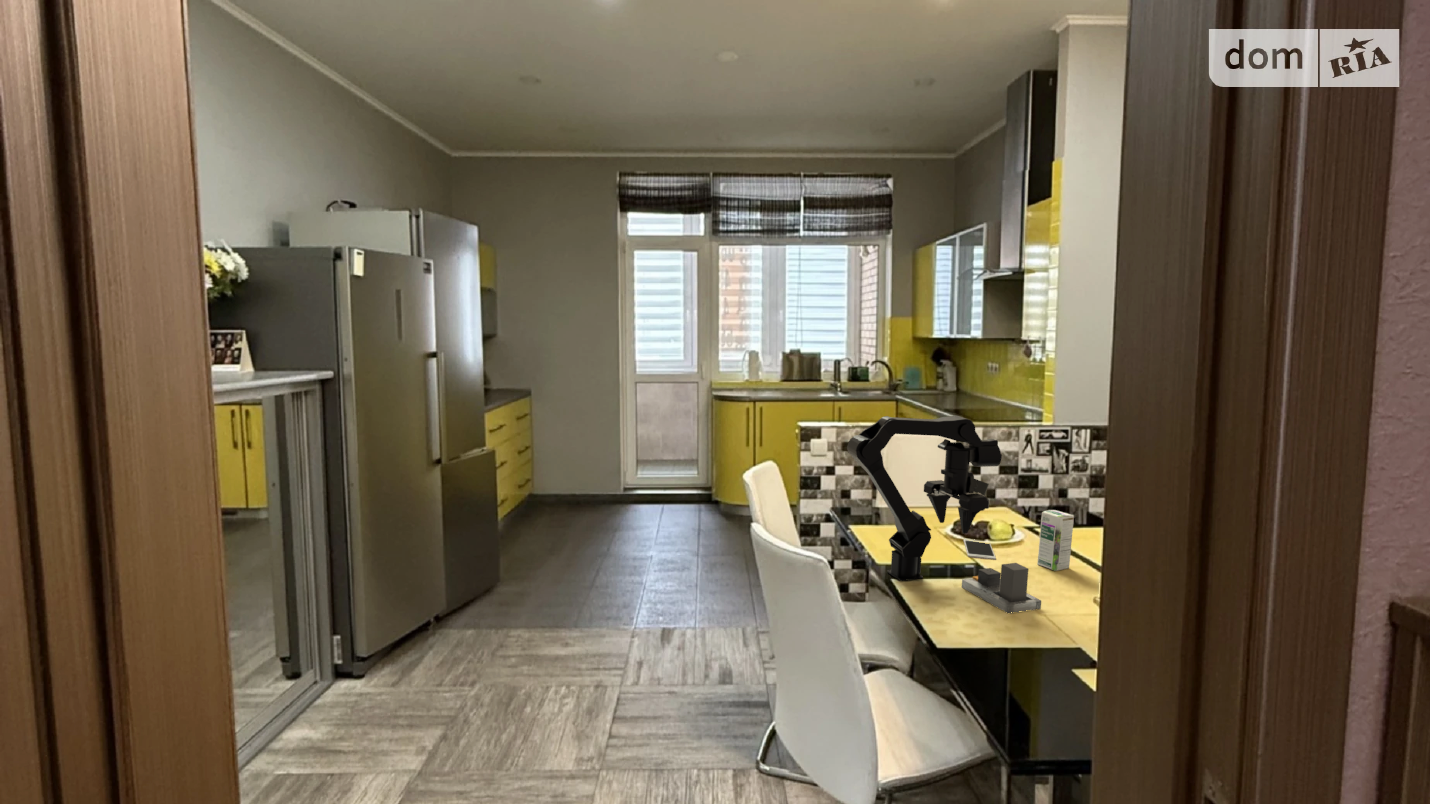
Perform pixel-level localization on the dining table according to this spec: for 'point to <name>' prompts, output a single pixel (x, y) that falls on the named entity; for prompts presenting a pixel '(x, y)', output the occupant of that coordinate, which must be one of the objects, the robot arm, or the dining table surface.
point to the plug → (1013, 582)
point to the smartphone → (979, 550)
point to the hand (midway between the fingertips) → (953, 527)
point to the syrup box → (1055, 540)
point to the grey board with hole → (997, 592)
